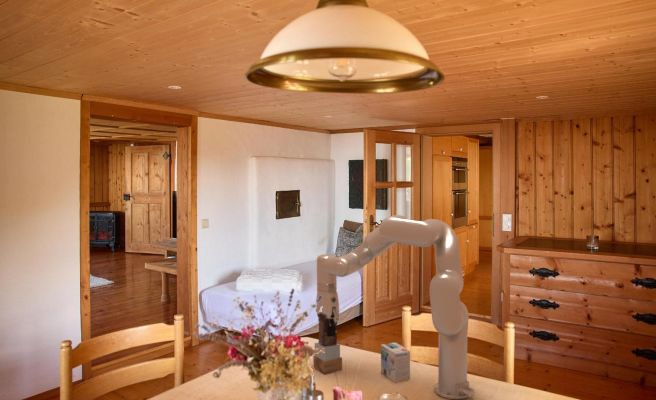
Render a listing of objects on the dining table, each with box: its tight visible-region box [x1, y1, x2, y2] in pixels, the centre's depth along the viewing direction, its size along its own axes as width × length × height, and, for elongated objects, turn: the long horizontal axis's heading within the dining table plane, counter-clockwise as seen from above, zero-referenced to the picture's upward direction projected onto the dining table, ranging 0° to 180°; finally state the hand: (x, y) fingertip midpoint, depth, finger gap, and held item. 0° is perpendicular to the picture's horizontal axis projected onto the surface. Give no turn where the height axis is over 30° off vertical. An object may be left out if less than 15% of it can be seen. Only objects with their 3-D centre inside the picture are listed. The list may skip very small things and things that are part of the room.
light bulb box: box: [380, 341, 411, 383], centre depth 181 cm, size 11×7×11 cm, turn 23°
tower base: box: [312, 354, 343, 376], centre depth 188 cm, size 8×8×5 cm
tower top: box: [314, 341, 341, 361], centre depth 187 cm, size 7×7×5 cm
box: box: [318, 313, 338, 346], centre depth 187 cm, size 6×4×12 cm
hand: (327, 333), depth 187 cm, fingers open, 5 cm apart
